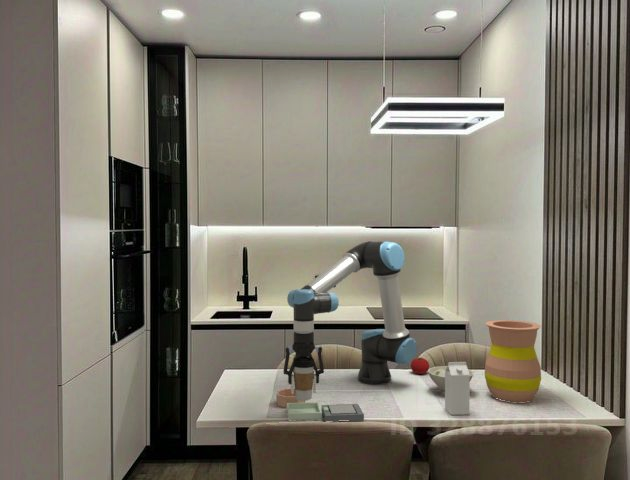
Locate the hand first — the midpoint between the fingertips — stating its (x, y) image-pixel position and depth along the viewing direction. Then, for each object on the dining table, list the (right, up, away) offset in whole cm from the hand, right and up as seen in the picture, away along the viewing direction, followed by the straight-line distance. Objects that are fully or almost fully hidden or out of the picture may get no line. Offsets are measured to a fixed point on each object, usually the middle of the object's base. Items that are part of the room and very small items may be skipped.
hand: (303, 392), depth 208 cm
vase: (+85, -8, +21) cm, 88 cm away
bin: (-5, -8, +14) cm, 17 cm away
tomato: (+54, -7, +58) cm, 80 cm away
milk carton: (+58, -9, +3) cm, 59 cm away
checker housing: (+14, -9, -1) cm, 17 cm away
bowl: (+62, -8, +28) cm, 68 cm away
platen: (+14, -7, -1) cm, 16 cm away
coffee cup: (0, -2, 0) cm, 2 cm away
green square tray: (0, -8, 0) cm, 8 cm away
